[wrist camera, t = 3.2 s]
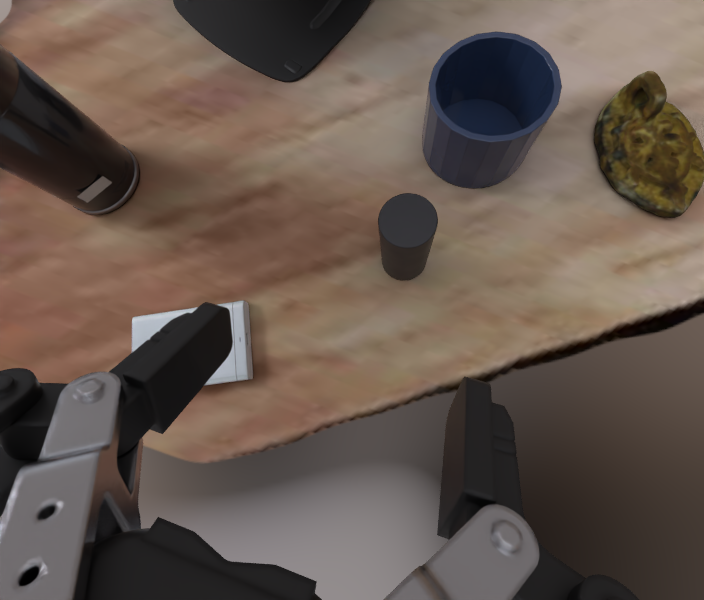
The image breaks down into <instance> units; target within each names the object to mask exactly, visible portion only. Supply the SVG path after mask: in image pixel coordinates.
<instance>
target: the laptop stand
mask: <svg viewBox="0 0 704 600" xmlns="http://www.w3.org/2000/svg"><path fill="white" fill-rule="evenodd" d="M370 1H371V0H173V2H174V5H175V8H176V9H177V10H178V12H179V13H180V14H181V15H182V16H183V17H184V19H185V20H186V21H187V22H188V23H189V24H190V25H191V26H193V27H194V28H195V29H196V30H197V31H198V32H199V33H200V34H201V35H203V36H204V37H205V38H206V39H207V40H209V41H210V42H211V43H213V44H214V45H215V46H217V47H218V48H219V49H221V50H222V51H224V52H225V53H227V54H228V55H230V56H231V57H233V58H234V59H236V60H238V61H239V62H241V63H243V64H245V65H247V66H248V67H250V68H252V69H254V70H256V71H258V72H260V73H262V74H264V75H267V76H269V77H271V78H274V79H276V80H279V81H284V82H292V81H296V80H298V79H300V78H302V77H304V76H305V75H306V74H308V73H309V72H310V71H311V70H312V69H313V68H314V67H316V65H317V64H318V63H319V62H320V61H321V60H322V59H323V58H324V57H325V56H326V55H327V54H328V53H329V52H330V51H331V50H332V49H333V48H334V47H335V46H336V45H337V44H338V43H339V41H340V40H341V39H342V38H343V37H344V36H345V35H346V34H347V33H348V32H349V31H350V29H351V28H352V27H353V25H354V24H355V23H356V22H357V20H358V19H359V18H360V16H361V15H362V13H363V12H364V10H365V9H366V7H367V6H368V4H369V3H370Z"/></svg>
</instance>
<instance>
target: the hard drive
mask: <svg viewBox="0 0 704 600" xmlns="http://www.w3.org/2000/svg"><path fill="white" fill-rule="evenodd" d="M218 305H219V306H222V307H226V308H228V309H229V311H230V319H231V328H232V338H233V345H232V349H231V352H230V354H229V356H228V357H227V359H226V360H225V361H224V362H223V363H222V365H221V366H220V367H219V368H218V369H217V370H216V372H215V373H214V374H213V375H212V376H211V378H210V379H209V380H208V381H207V382H206V383H205V385H212V384H220V383H227V382H234V381H242V380H249V379H253V366H252V350H251V333H250V317H249V305H248V302H246V301H237V302H231V303H224V304H218ZM197 308H198V307H197ZM197 308H190V309H184V310H177V311H171V312H165V313H157V314H151V315H144V316H137V317H133V319H132V352H134V351H135V350H136V349H137V348H138V347H139V346H141V345H142V344H143V343H144V342H145V341H147V340H150V337H151V336H153V335H154V334H155V333H156V332H157V331H160V329H161V328H162V327H163V326H165V325H166V324H167V323H168V322H169V321H171V320H172V319H174V318H176V317H178V316H180V315H183V314H185V313H187V312H188V313H192V312H194V311H195V310H196V309H197ZM205 385H204V386H205Z"/></svg>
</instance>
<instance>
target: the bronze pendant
mask: <svg viewBox="0 0 704 600" xmlns="http://www.w3.org/2000/svg"><path fill="white" fill-rule="evenodd" d="M666 98H667V94H666V89H665V86H664V84H663V83H662V81H661V80H660V77H659V76H658V75H657V73H655V72H653V71H647V72H644V73H642V74H640V75H638V76H637V77H635V78H634V79H633V80H632V81H631V82H630V83H629V84H627V85H626V86H624V87H623V88H622V89H621V90H620V91H619V92H618V93H617V94H616V95H615V96H614V97H613V98H612V99H611V100H610V101H609V102H608V104H607V105H606V106H605V107H604V109H603V110H602V112H601V113H600V116H599V118H598V121H597V124H596V127H595V133H594V140H595V144H596V147H597V150H598V152H599V155H600V166H601V169H602V170H603V171H604V173H605V175H606V176H607V178H608V180H609V182H610V184H611V185H612V186H613V187H614V189H615V190H616V191H617V192H618V193H620V194H621V195H622V196H624V197H626V198H628V199H629V200H631V201H632V202H634V203H635V204H637V205H638V206H639V207H641V208H643V209H644V210H647V211H649V212H652V213H654V214H656V215H659V216H663V217H669V218H675V217H678V216H680V215H682V214H683V213H684V212H685V211H686V210H687V208H688V207H689V206H690V205H691V203H692V201H693V200H694V198H695V197H696V196H697V194H698V192H699V190H700V188H701V186H702V184H703V181H704V151H703V148H702V146H701V143H700V141H699V139H698V137H697V135H696V131H695V130H694V129H693V127H692V126H691V124H690V122H689V121H688V120H687V118H686V117H685V116H684V115H683V114H682V113H681V112H680V111H679V110H678V109H677V108H676V107H674V106H673V105H672V104H670V103H668V102H666Z"/></svg>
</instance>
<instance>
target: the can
mask: <svg viewBox="0 0 704 600" xmlns="http://www.w3.org/2000/svg"><path fill="white" fill-rule="evenodd" d="M561 88H562V85H561V79H560V74H559V69H558V67H557V65H556V64H555V62H554V60H553V59H552V57H551V55H550V54H549V53H548V52H547V51H546V50H545V49H543V48H542V47H541V46H540V45H538V44H537V43H536V42H534V41H532V40H530V39H527V38H525V37H522V36H520V35H518V34H512V33H504V32H490V33H482V34H476V35H474V36H471V37H469V38H466V39H464V40H461V41H459V42H458V43H456V44H455V45H454V46H452V47H451V48H450V49H448V50H447V51H446V52H445V53H444V54H443V55H442V56H441V58H440V59H439V61H438V62H437V63H436V65H435V66H434V68H433V71H432V75H431V78H430V82H429V87H428V95H427V103H426V111H425V119H424V127H423V135H422V147H423V153H424V156H425V159H426V161H427V163H428V165H429V166H430V168H431V169H432V170H433V171H434V172H435V173H436V174H437V175H438V176H439V177H440V178H442V179H443V180H445V181H447V182H448V183H451V184H453V185H456V186H460V187H465V188H484V187H488V186H492V185H495V184H497V183H499V182H501V181H503V180H505V179H506V178H508V177H509V176H511V175H512V174H513V173H514V172H515V171H516V170H517V169H518V167H519V166H520V164H521V163H522V161H523V160H524V158H525V157H526V155H527V153H528V152H529V150H530V149H531V147H532V145H533V144H534V142H535V141H536V139H537V137H538V136H539V134H540V132H541V131H542V129H543V128H544V126H545V124H546V123H547V121H548V120H549V118H550V116H551V115H552V113H553V111H554V110H555V108H556V107H557V105H558V102H559V97H560V93H561Z"/></svg>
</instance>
